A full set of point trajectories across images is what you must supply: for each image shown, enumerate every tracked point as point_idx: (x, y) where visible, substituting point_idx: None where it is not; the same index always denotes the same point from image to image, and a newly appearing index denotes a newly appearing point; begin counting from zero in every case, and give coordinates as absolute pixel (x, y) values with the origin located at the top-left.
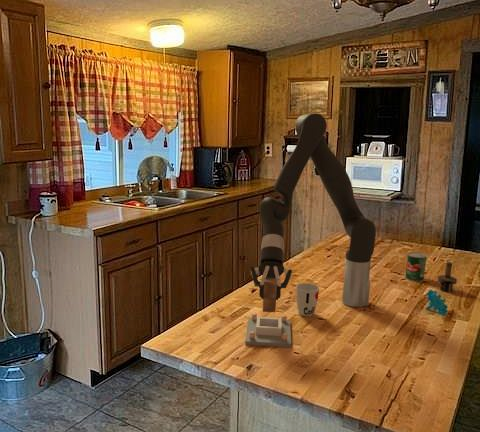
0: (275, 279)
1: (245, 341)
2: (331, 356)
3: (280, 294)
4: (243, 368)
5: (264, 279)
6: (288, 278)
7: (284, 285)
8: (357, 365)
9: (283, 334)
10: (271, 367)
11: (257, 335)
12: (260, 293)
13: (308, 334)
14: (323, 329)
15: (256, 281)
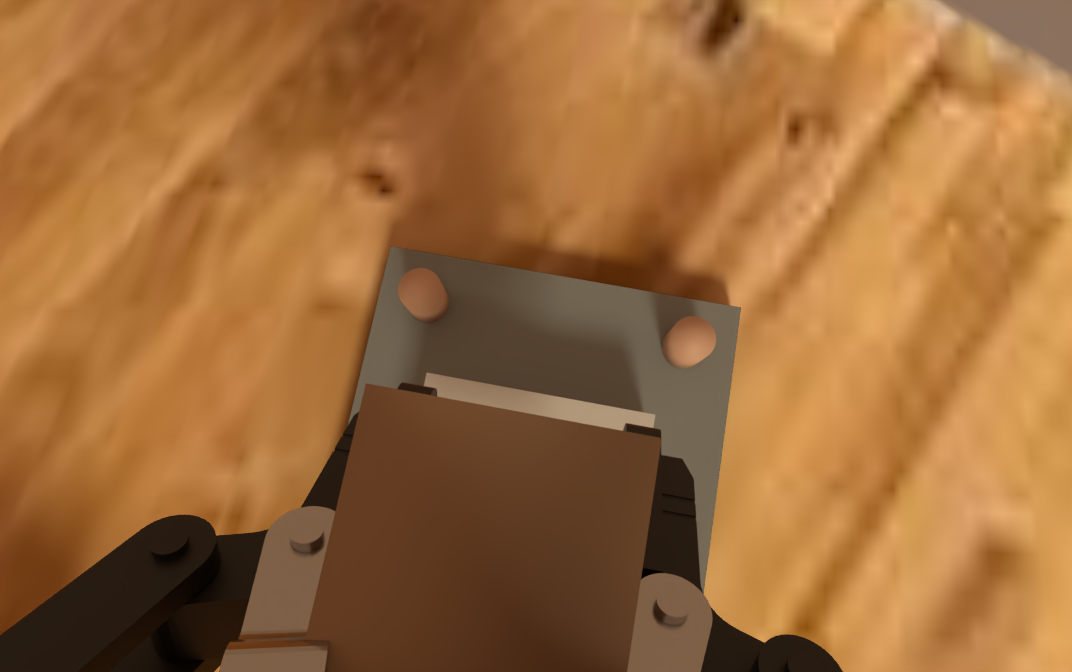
0: (354, 599)
1: (737, 308)
2: (154, 123)
3: (349, 426)
4: (762, 6)
5: (634, 601)
6: (3, 647)
7: (204, 530)
8: (37, 10)
9: (431, 290)
10: (585, 10)
11: (632, 401)
12: (675, 480)
13: (194, 470)
14: (31, 562)
15: (802, 665)
